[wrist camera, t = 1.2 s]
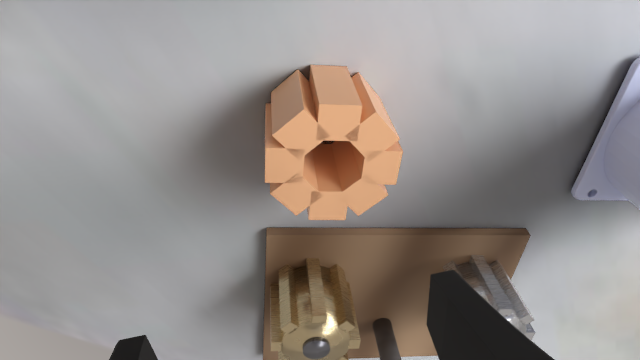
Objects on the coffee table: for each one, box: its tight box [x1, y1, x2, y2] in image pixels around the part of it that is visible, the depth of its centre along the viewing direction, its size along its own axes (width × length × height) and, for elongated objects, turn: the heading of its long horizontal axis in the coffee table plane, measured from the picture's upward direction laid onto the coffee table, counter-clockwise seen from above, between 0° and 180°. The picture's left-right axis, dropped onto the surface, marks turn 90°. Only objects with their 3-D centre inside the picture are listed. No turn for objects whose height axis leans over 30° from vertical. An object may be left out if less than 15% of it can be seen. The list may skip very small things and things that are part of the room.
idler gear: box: [265, 65, 403, 220], centre depth 20 cm, size 5×5×4 cm
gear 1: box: [270, 258, 361, 360], centre depth 25 cm, size 5×5×4 cm
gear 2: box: [429, 255, 535, 340], centre depth 26 cm, size 5×5×4 cm
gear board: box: [263, 228, 531, 360], centre depth 27 cm, size 15×11×4 cm
